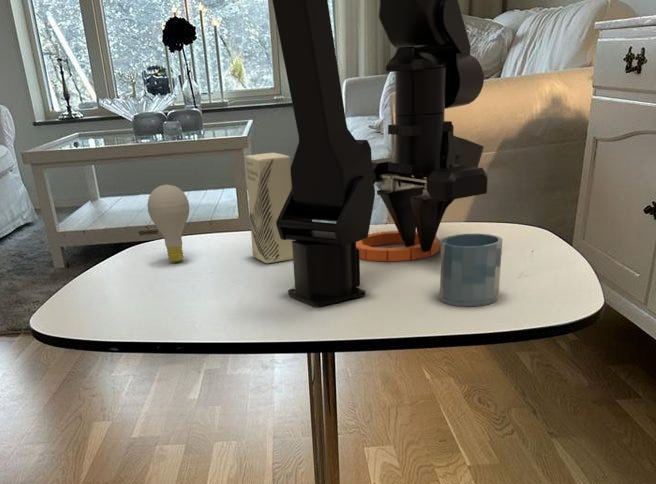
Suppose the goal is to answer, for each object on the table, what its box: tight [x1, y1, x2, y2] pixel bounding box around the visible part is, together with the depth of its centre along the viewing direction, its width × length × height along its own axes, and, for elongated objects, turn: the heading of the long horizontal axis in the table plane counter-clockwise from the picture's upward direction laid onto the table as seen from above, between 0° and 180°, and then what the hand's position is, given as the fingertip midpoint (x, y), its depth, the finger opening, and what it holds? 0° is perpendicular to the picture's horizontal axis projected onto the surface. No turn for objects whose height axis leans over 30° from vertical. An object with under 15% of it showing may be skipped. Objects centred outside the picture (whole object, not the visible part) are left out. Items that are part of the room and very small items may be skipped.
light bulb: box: [146, 184, 190, 264], centre depth 100 cm, size 6×5×10 cm
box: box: [244, 152, 295, 264], centre depth 97 cm, size 5×4×13 cm
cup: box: [439, 233, 503, 307], centre depth 78 cm, size 6×6×6 cm
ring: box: [356, 230, 440, 263], centre depth 99 cm, size 11×11×1 cm
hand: (417, 249), depth 95 cm, fingers open, 3 cm apart
